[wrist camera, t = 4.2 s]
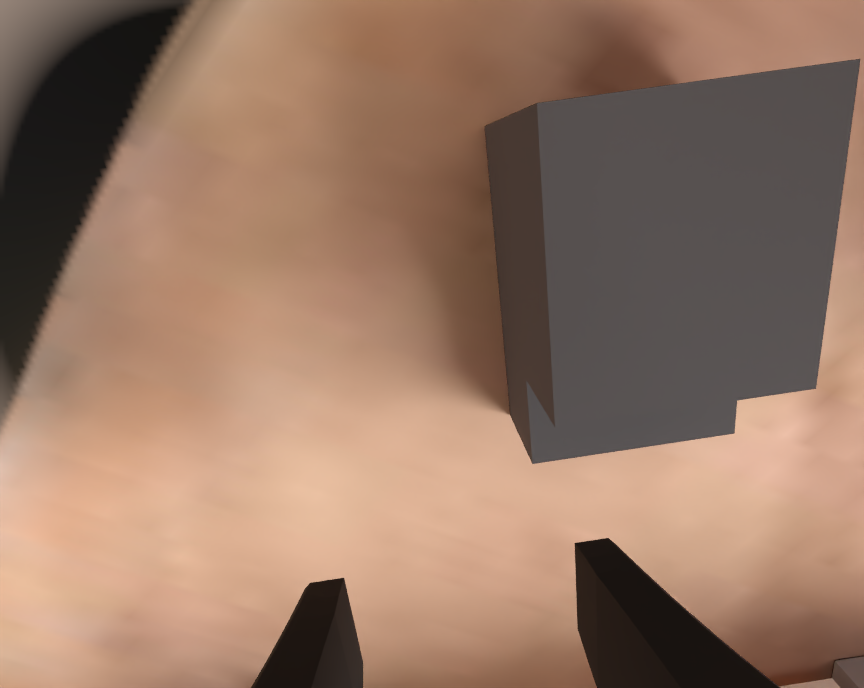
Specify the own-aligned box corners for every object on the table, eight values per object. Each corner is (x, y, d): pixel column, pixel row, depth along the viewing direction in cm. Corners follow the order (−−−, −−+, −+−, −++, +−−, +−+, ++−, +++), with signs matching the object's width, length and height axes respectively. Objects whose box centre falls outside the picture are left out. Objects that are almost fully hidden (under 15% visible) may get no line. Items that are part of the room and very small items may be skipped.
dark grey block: (685, 98, 11) (859, 58, 7) (675, 386, 14) (802, 487, 9) (483, 126, 11) (536, 102, 7) (508, 411, 14) (560, 525, 9)
